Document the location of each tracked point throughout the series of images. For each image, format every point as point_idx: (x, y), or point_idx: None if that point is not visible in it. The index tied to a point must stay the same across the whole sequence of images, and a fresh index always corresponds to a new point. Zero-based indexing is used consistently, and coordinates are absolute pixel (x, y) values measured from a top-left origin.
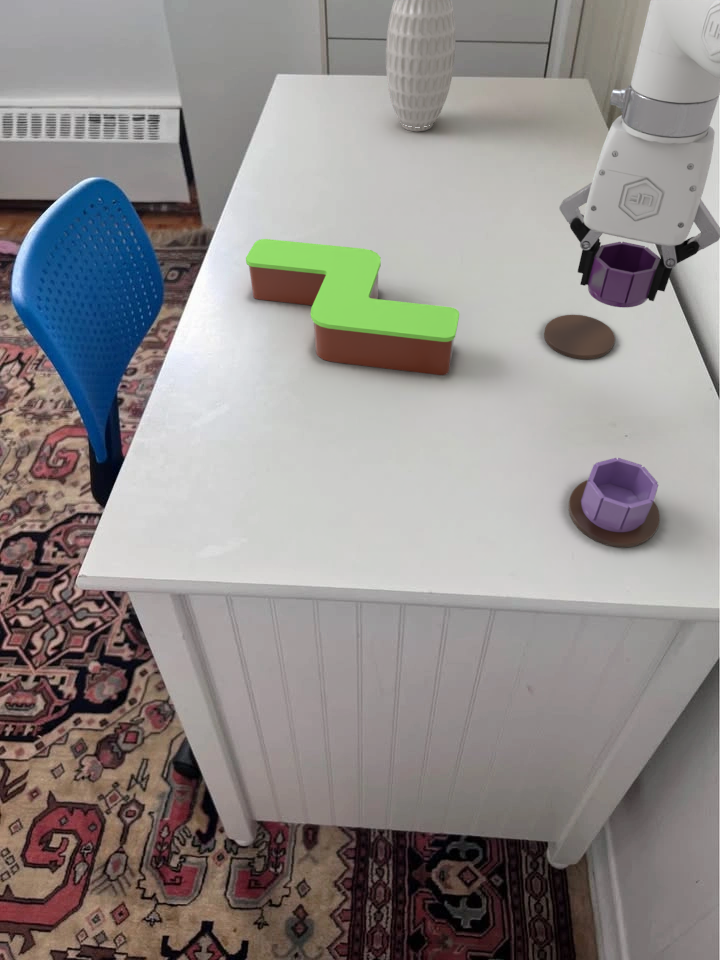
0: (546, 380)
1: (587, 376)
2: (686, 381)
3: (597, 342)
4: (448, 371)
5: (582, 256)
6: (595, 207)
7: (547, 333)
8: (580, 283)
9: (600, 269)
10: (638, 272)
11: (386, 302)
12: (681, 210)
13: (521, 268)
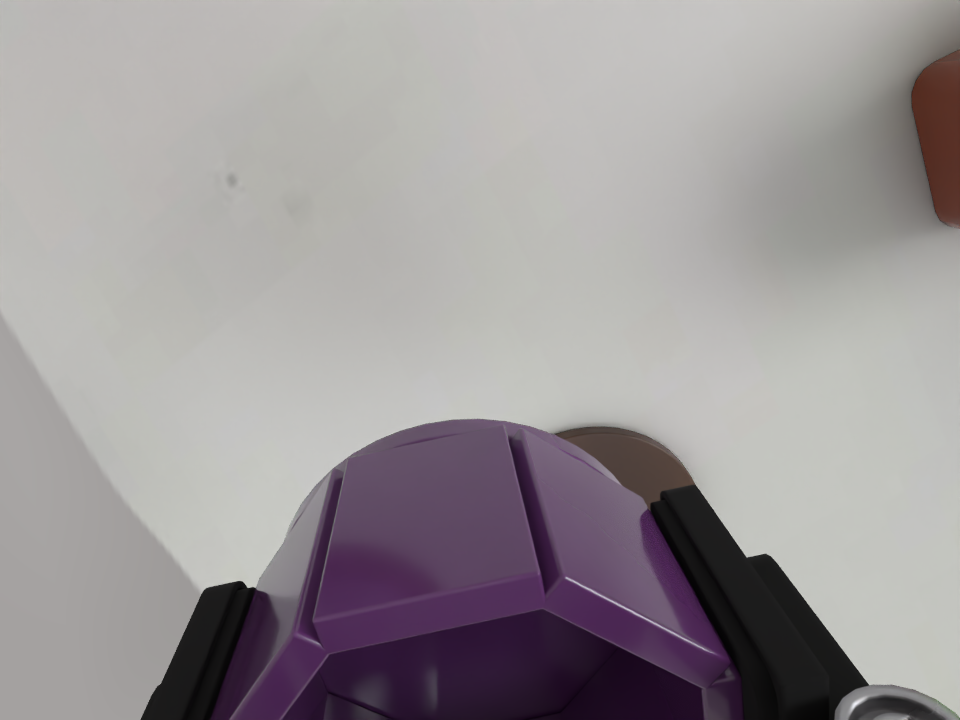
0: (586, 278)
1: (482, 379)
2: (225, 534)
3: None
4: (915, 95)
5: (826, 648)
6: None
7: (683, 480)
8: (695, 486)
9: (620, 574)
10: (289, 682)
11: None
12: None
13: None
